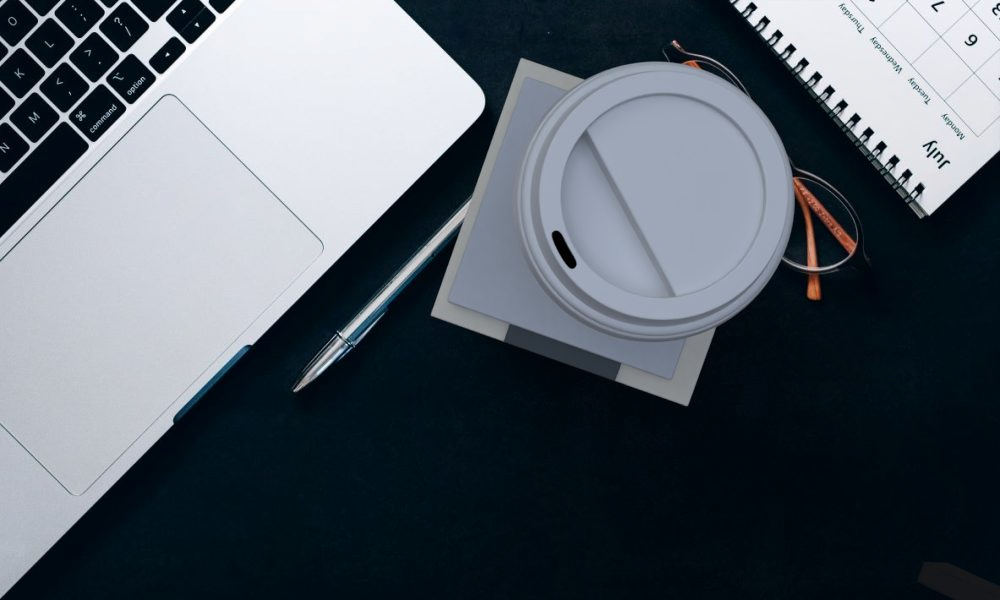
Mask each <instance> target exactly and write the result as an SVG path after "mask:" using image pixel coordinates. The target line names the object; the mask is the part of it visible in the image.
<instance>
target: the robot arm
mask: <svg viewBox="0 0 1000 600" xmlns="http://www.w3.org/2000/svg"><path fill="white" fill-rule="evenodd" d="M916 582H917V583H919V584H921V585H923V586H925V587H927V588H929V589H932V590H933V591H935V592H937V593H939V594H941V595H944V596H946V597H948V598H950V599H952V600H1000V585H997V584H996V583H993V582H991V581H990V580H987V579H985V578H983V577H980V576H978V575H976V574H973V573H971V572H969V571H967V570H965V569H963V568H961V567H958V566H956V565H953V564H952V563H949V562H947V561H946V562H943V561H941V562H940V561H939V562H937V561H923V563H922V566H921V568H920V571H919V574H918V576H917V580H916Z"/></svg>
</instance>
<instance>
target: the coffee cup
mask: <svg viewBox="0 0 1000 600" xmlns="http://www.w3.org/2000/svg"><path fill="white" fill-rule="evenodd" d="M782 141H783V140H782V139H781V137H780V135H779V134H778V132H777V130H776V128H775V126H774V125H773V123H772V122H771V120H770V119H769V117H768V116H767V115H766V114H765V112H764V111H763V110H762V109H761V108H760V107H759V105H758V104H757V103H756V102H755V101H754V100H753V99H751V97H750V96H748V95H747V94H746V93H745V92H744V91H742V90H741V89H740V88H738V87H736V86H735V85H734V84H732V83H731V82H729V81H727V80H726V79H724V78H723V77H721V76H718V75H716V74H714V73H712V72H710V71H707V70H705V69H702V68H699V67H695V66H692V65H687V64H683V63H678V62H677V63H676V62H671V61H643V62H634V63H629V64H623V65H619V66H616V67H611V68H609V69H605V70H603V71H600V72H598V73H596V74H594V75H592V76H589V77H588V78H586V79H584V81H582V82H581V83H579V84H577V85H576V86H574V87H573V88H572V89H570V90H569V91H568V92H566V93H565V94H564V95H563V96H561V97H560V98H559V99H558V100H557V101H556V102H555V103H554V104H553V105H552V106H551V107H550V108H549V109H548V110H547V112H546V113H545V114H544V115H543V116H542V118H541V119H540V120H539V122H538V123H537V125H536V126H535V128H534V129H533V131H532V133H531V135H530V136H529V138H528V140H527V142H526V144H525V147H524V149H523V151H522V154H521V157H520V160H519V163H518V167H517V171H516V175H515V181H514V188H513V218H514V225H515V231H516V235H517V239H518V243H519V246H520V249H521V252H522V254H523V257H524V259H525V261H526V263H527V265H528V267H529V269H530V271H531V273H532V274H533V276H534V278H535V279H536V281H537V282H538V284H539V285H540V286H541V288H542V289H543V290H544V291H545V293H546V294H547V295H548V296H549V297H550V298H551V299H552V300H553V301H554V302H555V303H556V304H557V305H558V306H559V307H560V308H561V309H562V310H564V311H565V312H566V313H567V314H569V315H570V316H571V317H573V318H574V319H576V320H577V321H579V322H581V323H582V324H584V325H586V326H588V327H590V328H592V329H594V330H596V331H599V332H601V333H604V334H606V335H610V336H613V337H616V338H620V339H625V340H631V341H639V342H666V341H674V340H680V339H684V338H688V337H692V336H695V335H698V334H701V333H704V332H706V331H709V330H711V329H713V328H715V327H716V328H717V327H719V326H721V325H722V324H724V323H726V322H727V321H729V320H731V319H732V318H733V317H735V316H736V315H738V314H739V313H740V312H741V311H743V310H744V309H745V308H746V307H747V306H749V304H751V303H752V302H753V301H754V300H755V299H756V297H757V296H759V294H760V293H761V292H762V290H764V288H765V287H766V285H767V284H768V283H769V282H770V280H771V278H772V277H773V275H774V273H775V272H776V270H777V269H778V266H779V265H780V264H781V260H782V259H783V256H784V254H785V251H786V249H787V246H788V243H789V241H790V237H791V233H792V230H793V229H792V228H793V223H794V217H795V216H794V215H795V199H796V198H795V184H794V176H793V172H792V167H791V163H790V159H789V157H788V154H787V151H786V149H785V146H784V143H783V142H782Z"/></svg>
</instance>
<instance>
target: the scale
mask: <svg viewBox="0 0 1000 600" xmlns="http://www.w3.org/2000/svg"><path fill="white" fill-rule="evenodd" d="M584 80H585V79H584V78H580V77H578V76H575V75H572V74H569V73H566V72H563V71H561V70H557V69H555V68H552V67H549V66H546V65H543V64H540V63H537V62H534V61H532V60H529V59H526V58H524V57H520V59H519V61H518V65H517V68H516V70H515V73H514V75H513V79H512V81H511V85H510V88H509V90H508V93H507V96H506V99H505V102H504V104H503V107H502V110H501V113H500V116H499V119H498V121H497V125H496V127H495V131H494V134H493V136H492V139H491V141H490V145H489V148H488V150H487V153H486V156H485V159H484V162H483V165H482V168H481V171H480V173H479V176H478V179H477V182H476V185H475V187H474V189H473V193H472V196H471V199H470V202H469V204H468V207H467V210H466V214H465V216H464V219H463V221H462V225H461V227H460V230H459V233H458V235H457V239H456V242H455V244H454V247H453V249H452V253H451V256H450V259H449V261H448V265H447V267H446V270H445V273H444V276H443V278H442V282H441V285H440V287H439V290H438V293H437V296H436V299H435V302H434V304H433V307H432V309H431V312H430V316H431V317H433V318H436V319H438V320H441V321H444V322H447V323H450V324H453V325H455V326H458V327H460V328H461V327H462V328H464V329H467V330H470V331H473V332H475V333H478V334H481V335H484V336H486V337H490V338H492V339H496V340H498V341H501V342H503V343H505V344H507V345H511V346H513V347H517V348H518V349H519V348H520V349H522V350H525V351H528V352H530V353H534V354H536V355H539V356H542V357H544V358H546V359H549V360H553V361H556V362H557V363H561V364H565V365H567V366H570V367H573V368H576V369H579V370H582V371H584V372H587V373H590V374H593V375H595V376H598V377H601V378H603V379H607V380H609V381H613V382H616V383H617V382H618V383H620V384H622V385H624V386H629V387H631V388H634V389H637V390H639V391H642V392H645V393H648V394H651V395H653V396H657V397H659V398H662V399H666V400H667V401H671V402H673V403H677V404H679V405H681V406H685V407H688V406H689V404H690V402H691V398H692V396H693V393H694V390H695V387H696V385H697V382H698V379H699V376H700V373H701V371H702V368H703V366H704V362H705V359H706V357H707V354H708V351H709V349H710V345H711V343H712V340H713V337H714V334H715V332H716V329H717V327H715V328H713V329H711V330H709V331H706V332H704V333H701V334H698V335H695V336H692V337H688V338H684V339H680V340H674V341H666V342H639V341H631V340H625V339H620V338H616V337H613V336H610V335H606V334H604V333H601V332H599V331H596V330H594V329H592V328H590V327H588V326H586V325H584V324H582V323H581V322H579V321H577V320H576V319H574V318H573V317H571V316H570V315H569V314H567V313H566V312H565V311H564V310H562V309H561V308H560V307H559V306H558V305H557V304H556V303H555V302H554V301H553V300H552V299H551V298H550V297H549V296H548V295H547V294H546V293H545V291H544V290H543V289H542V288H541V286H540V285H539V284H538V282H537V281H536V279H535V278H534V276H533V274H532V273H531V271H530V269H529V267H528V265H527V263H526V261H525V259H524V257H523V254H522V252H521V249H520V246H519V243H518V239H517V235H516V231H515V225H514V218H513V188H514V181H515V175H516V171H517V167H518V163H519V160H520V157H521V154H522V151H523V149H524V147H525V144H526V142H527V140H528V138H529V136H530V135H531V133H532V131H533V129H534V128H535V126H536V125H537V123H538V122H539V120H540V119H541V118H542V116H543V115H544V114H545V113H546V112H547V110H548V109H549V108H550V107H551V106H552V105H553V104H554V103H555V102H556V101H557V100H558V99H559V98H560V97H561V96H563V95H564V94H565V93H566V92H568V91H569V90H570V89H572V88H573V87H574V86H576V85H577V84H579V83H581V82H582V81H584Z"/></svg>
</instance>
